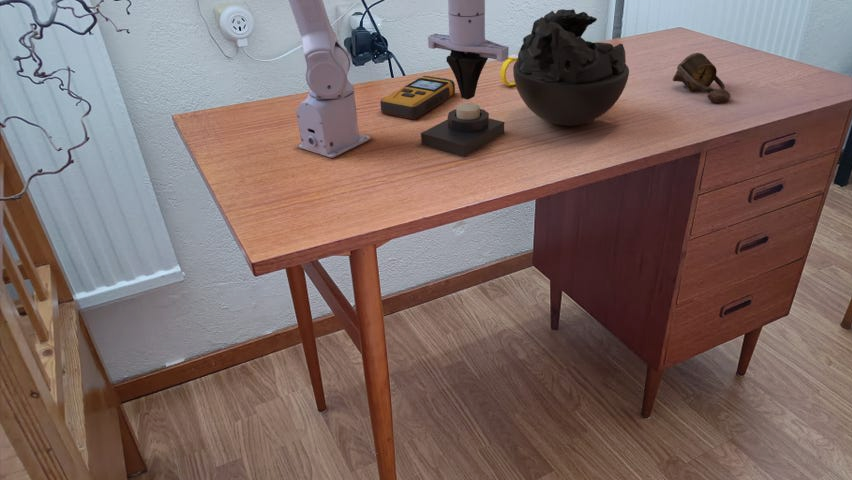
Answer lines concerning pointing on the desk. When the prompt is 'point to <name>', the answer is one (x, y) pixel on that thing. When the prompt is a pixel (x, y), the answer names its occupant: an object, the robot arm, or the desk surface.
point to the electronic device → (418, 97)
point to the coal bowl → (568, 70)
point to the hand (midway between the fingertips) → (468, 97)
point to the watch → (504, 67)
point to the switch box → (462, 134)
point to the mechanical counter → (701, 77)
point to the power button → (468, 111)
